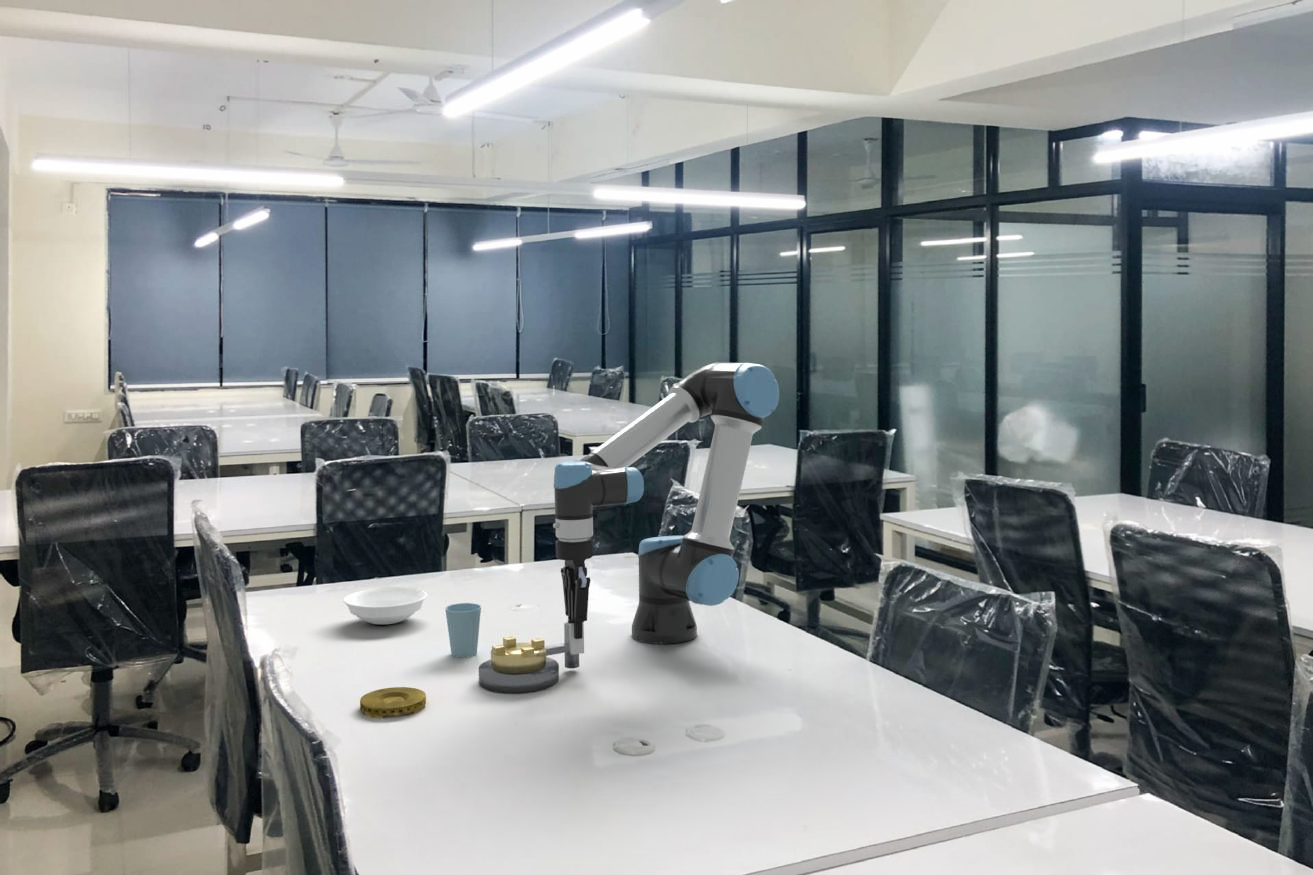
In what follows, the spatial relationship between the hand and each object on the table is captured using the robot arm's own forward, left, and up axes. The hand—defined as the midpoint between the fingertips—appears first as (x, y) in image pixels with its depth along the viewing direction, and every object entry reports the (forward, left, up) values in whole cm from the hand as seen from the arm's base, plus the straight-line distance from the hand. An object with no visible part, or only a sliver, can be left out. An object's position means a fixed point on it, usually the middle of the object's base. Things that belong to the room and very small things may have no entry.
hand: (577, 653), depth 220 cm
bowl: (+37, -54, -5) cm, 66 cm away
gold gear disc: (+37, +8, -5) cm, 38 cm away
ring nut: (+8, -2, -4) cm, 9 cm away
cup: (+21, -22, -5) cm, 31 cm away
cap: (+12, 0, -5) cm, 13 cm away
